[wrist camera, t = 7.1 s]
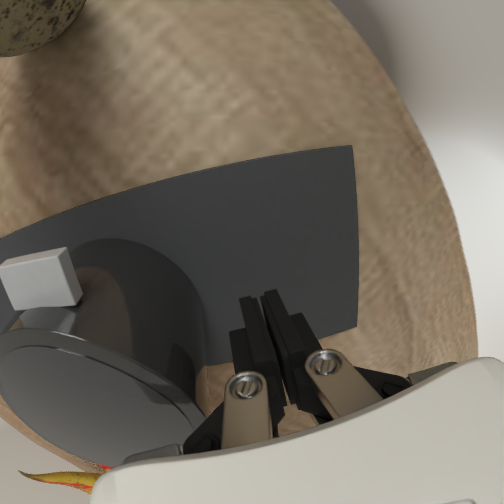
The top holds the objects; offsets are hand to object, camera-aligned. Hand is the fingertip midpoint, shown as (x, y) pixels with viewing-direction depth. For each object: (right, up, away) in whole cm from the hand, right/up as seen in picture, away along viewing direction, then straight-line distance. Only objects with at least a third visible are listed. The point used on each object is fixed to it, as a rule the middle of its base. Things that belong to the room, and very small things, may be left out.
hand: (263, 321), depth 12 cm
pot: (-7, 0, +2) cm, 8 cm away
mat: (-12, -1, +1) cm, 12 cm away
